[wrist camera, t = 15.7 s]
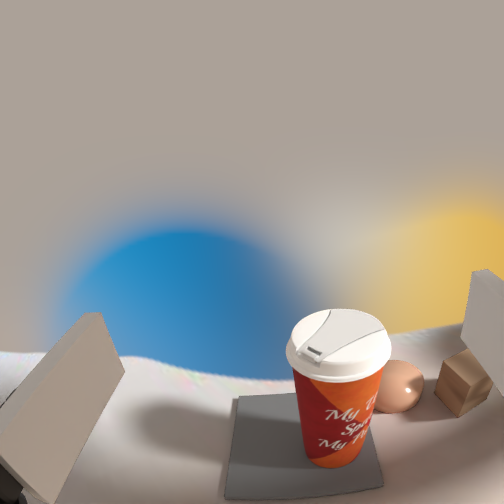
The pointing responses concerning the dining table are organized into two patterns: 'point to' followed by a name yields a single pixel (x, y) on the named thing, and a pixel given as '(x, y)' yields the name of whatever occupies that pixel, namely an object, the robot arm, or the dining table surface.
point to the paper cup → (337, 381)
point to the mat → (287, 456)
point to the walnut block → (462, 383)
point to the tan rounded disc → (399, 387)
